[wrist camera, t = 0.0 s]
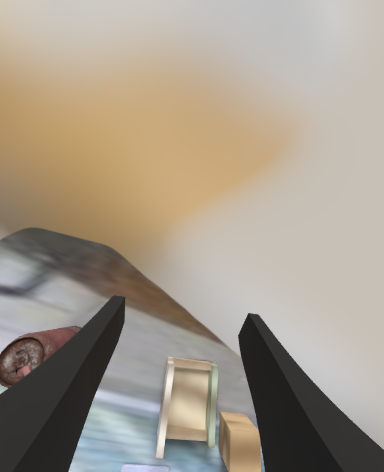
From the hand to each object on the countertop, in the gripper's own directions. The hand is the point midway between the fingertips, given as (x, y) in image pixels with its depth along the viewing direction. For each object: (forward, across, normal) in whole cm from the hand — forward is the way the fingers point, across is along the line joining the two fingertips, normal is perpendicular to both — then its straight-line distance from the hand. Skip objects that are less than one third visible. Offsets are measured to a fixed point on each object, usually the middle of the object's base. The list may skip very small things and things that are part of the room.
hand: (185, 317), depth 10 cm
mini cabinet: (+7, -15, +37) cm, 40 cm away
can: (+15, +18, +30) cm, 38 cm away
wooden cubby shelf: (+11, -6, +33) cm, 36 cm away
